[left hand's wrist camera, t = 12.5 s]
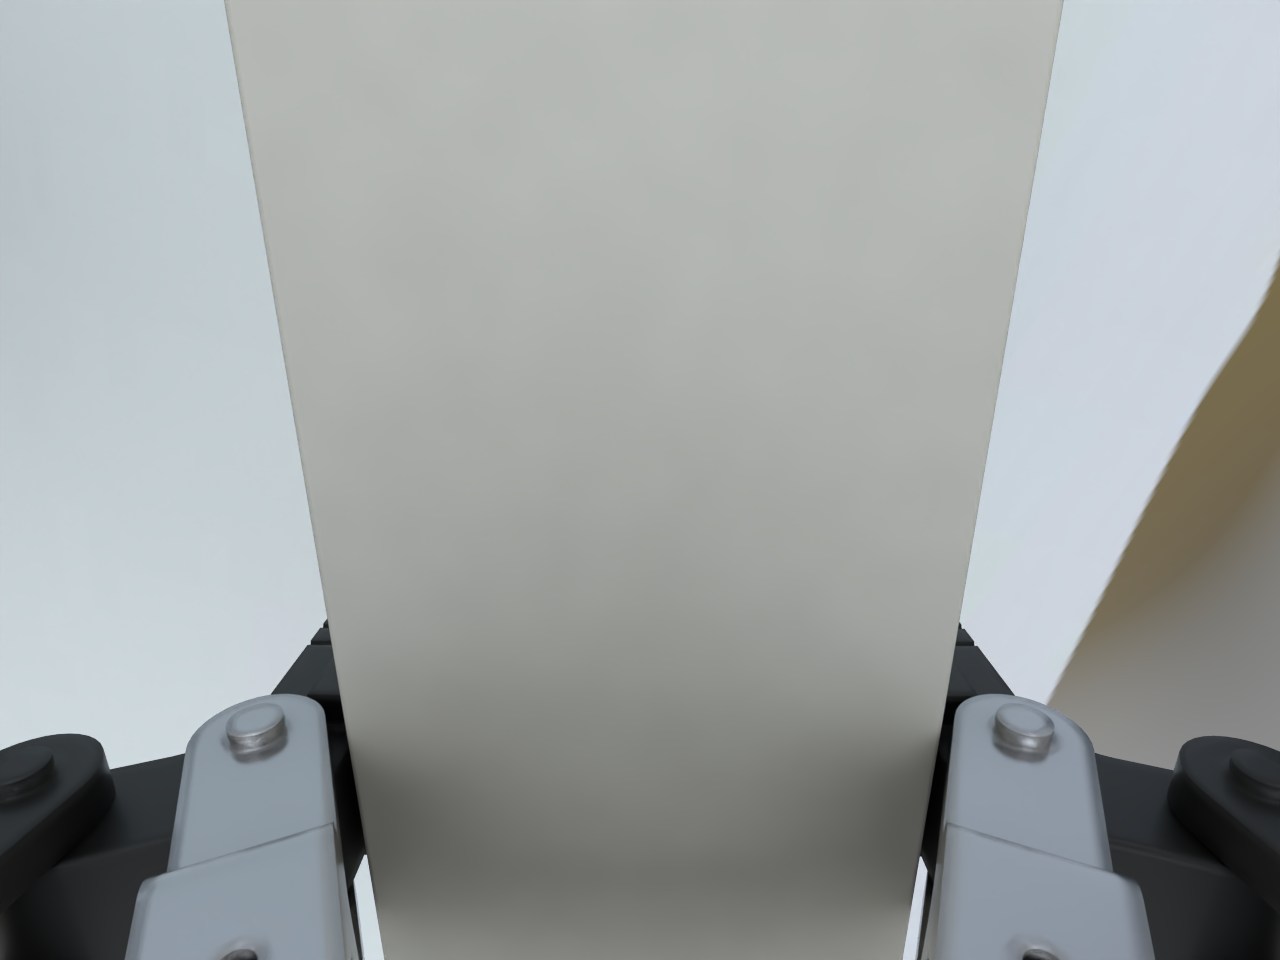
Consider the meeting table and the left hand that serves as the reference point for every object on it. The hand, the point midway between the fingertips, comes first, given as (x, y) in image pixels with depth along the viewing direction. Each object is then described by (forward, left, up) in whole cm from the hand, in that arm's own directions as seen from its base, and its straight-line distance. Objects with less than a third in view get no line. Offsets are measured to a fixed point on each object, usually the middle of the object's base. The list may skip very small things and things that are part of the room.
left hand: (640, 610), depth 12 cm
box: (+9, +3, -7) cm, 11 cm away
